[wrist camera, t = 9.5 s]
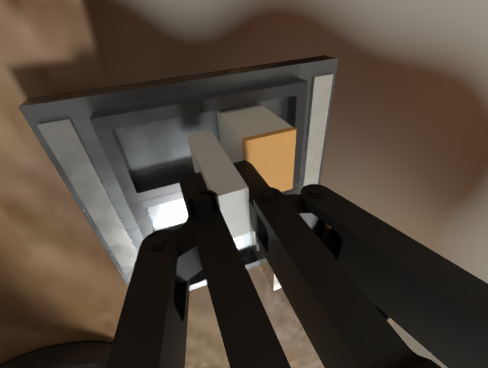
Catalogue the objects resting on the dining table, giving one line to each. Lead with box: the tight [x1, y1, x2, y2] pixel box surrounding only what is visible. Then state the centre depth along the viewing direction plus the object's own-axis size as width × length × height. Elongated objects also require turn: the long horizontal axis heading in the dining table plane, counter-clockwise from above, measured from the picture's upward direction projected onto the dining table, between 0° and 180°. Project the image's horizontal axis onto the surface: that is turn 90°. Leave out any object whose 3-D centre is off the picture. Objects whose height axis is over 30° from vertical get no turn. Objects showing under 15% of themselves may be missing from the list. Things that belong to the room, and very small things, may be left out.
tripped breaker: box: [216, 103, 297, 192], centre depth 16 cm, size 3×4×5 cm
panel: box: [19, 55, 338, 291], centre depth 20 cm, size 20×20×6 cm
